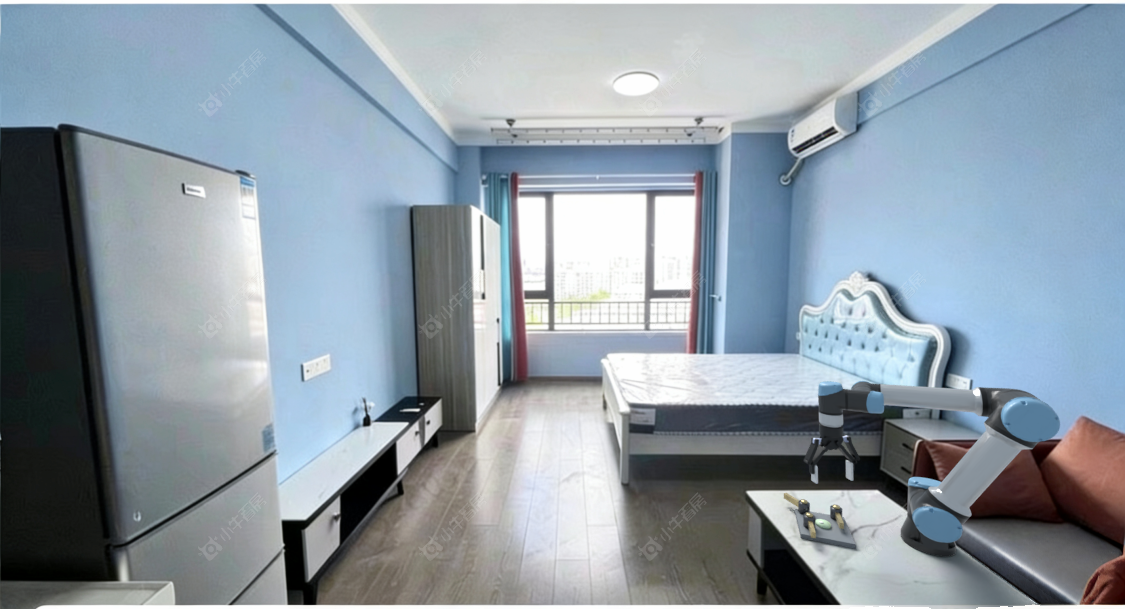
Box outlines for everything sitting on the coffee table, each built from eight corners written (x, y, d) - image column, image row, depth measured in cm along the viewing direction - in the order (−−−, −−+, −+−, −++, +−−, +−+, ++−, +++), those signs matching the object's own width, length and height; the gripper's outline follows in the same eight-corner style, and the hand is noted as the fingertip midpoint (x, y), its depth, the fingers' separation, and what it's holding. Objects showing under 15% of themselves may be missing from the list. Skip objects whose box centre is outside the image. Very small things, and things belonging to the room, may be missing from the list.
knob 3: (829, 514, 167) (829, 502, 166) (840, 516, 165) (841, 504, 165) (835, 530, 156) (835, 517, 156) (847, 532, 155) (848, 520, 154)
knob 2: (802, 522, 162) (802, 510, 161) (814, 524, 160) (814, 512, 160) (806, 539, 151) (807, 526, 151) (819, 542, 149) (820, 529, 149)
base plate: (843, 521, 165) (844, 514, 165) (855, 548, 148) (855, 540, 148) (794, 512, 171) (794, 505, 171) (800, 537, 155) (800, 530, 155)
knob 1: (812, 514, 167) (812, 502, 167) (804, 515, 166) (804, 504, 166) (788, 499, 178) (788, 488, 178) (781, 501, 177) (781, 490, 177)
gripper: (855, 418, 159) (856, 473, 160) (792, 423, 157) (793, 478, 158) (871, 425, 151) (872, 482, 152) (805, 429, 150) (806, 488, 150)
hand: (832, 480), depth 155 cm, fingers open, 13 cm apart
